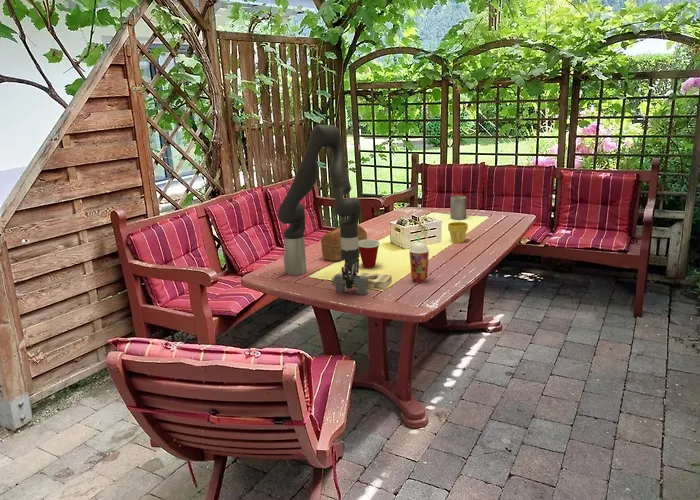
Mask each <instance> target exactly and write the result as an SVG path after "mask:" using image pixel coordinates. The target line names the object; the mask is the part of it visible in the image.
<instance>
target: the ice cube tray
mask: <svg viewBox="0 0 700 500" xmlns="http://www.w3.org/2000/svg"><path fill="white" fill-rule="evenodd" d="M349 273H350V272H349ZM336 274H342V270H340V271H338V272H337V273H336ZM334 276H335V275H333V276H332V277H331V285H335V286H336V283H334ZM357 276H367V277H368V284H367V289H377V290H378V289H379V290H385V289H386V288H387V287H388V286H390V284H391V283H393V275H392V274H382V273H380V274H379V273H368V272H358V273H357ZM345 287H346V284H345ZM352 287H355V288H358V285H352Z"/></svg>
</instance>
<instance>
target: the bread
mask: <svg viewBox="0 0 700 500" xmlns="http://www.w3.org/2000/svg"><path fill="white" fill-rule="evenodd" d="M367 239H368V234H367V231H366V230H365V229H364V228H363V227H362V226H360V225H358V240H359V241H361V240H367ZM340 240H341V234H340V226H339V227H337V228H335V229H333V230H330V231H328V232H326V233H325V234H324V235H323V236H322V237H321V239H320V243H321V253H322V258H323V259H325V260H327V261H332V262H333V261H335V262H337V261H342V260H343V259H342V258H341V246H340ZM359 253H360V250H359Z"/></svg>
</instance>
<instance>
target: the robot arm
mask: <svg viewBox="0 0 700 500" xmlns="http://www.w3.org/2000/svg"><path fill="white" fill-rule="evenodd" d="M323 148H324V149H325V148H327V149H330V151H331V154H332V155H331V156H332V161H331V166H330V170H329V171H330V172H329V176H330V182H331V185H332V189H333V194H334V212H335V214H336V215H337V216H338V217H340V218H345V217H348V219H346V220H344V221H342V222H341V223H340V225H339V227H340V234H341V240H340V246H341V258H342V260H344V264H343V266H342V267H341V271H342V275H343V280H346V286H345V289H347V290H351V289H352V288H353V286H352V281H351V278H352V275H356V276H357V273H358V272H359V271H360V270H359V267H360V259H359V258H360V252H359V240H358V226H359V222H360V216H361V213H362V203H361V201H360V200H359V199H358V198H357V197H349V198H344V196H345V195H348V193H351V191H352V185H351V182H350V179H349V175H348V173H347V169H346V162H345V157H344V156H345V155H344V147H343V141H342V134H341V132H340V129H339V128H338V127H337V126H336V125H332V124H317V125H315V126H314V127H313V129H312V130H311V133H310V136H309V138H308V142H307V146H306V148H305V151H304V154H303V157H302V159H301V161H300V164H299V166H298V167H297V171H296V172H295V175H294V178H293V180H292V182H291V185H290V187H289V189H288V192H287V194H286V196H285V197H284V199H283V200H282V202H281V204H280V205H279V208H278V211H277V212H278V213H277V214H278V215H277V216H278V217H277V218H278V219H279V221H280V223H281V224H284V225H289V226H288V227H287V228H286V229H285V230H284V231H283V241H284V242H283V244H284V253H283V266H284V267H283V268H284V274H286V273H288V274H287V275H289V274H290V275H289V276H301V275H304V274H306V273H307V263H306V262H307V261H306V260H307V259H306V247H305V246H306V245H305V230H306V211H305V208H304V205H303V203H301V201H302V200H303V199H304V198H305V197H306V196H307V195H308V194H309V193H310V192H311V191H312V189H313V188H314V187H315V185H316V183H317V181H318V178H319V176H320V167H319V163H318V158H319V157H318V156H319V153H320V151H321V150H322V149H323ZM349 272H350V273H349ZM303 273H304V274H303ZM300 274H301V275H300ZM349 275H350V276H349Z"/></svg>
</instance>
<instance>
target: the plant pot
mask: <svg viewBox="0 0 700 500" xmlns="http://www.w3.org/2000/svg"><path fill="white" fill-rule="evenodd" d="M468 229H469V226H468V223H467V222H463V221H453V222H449V223H447V230H448V232H449V234H450V240H451V242H452V243H455V244H460V243H461V244H462V243H464V242H465V238H466V234H467V231H468Z"/></svg>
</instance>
